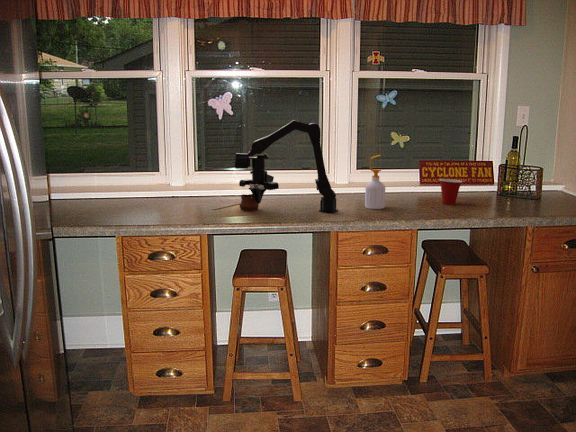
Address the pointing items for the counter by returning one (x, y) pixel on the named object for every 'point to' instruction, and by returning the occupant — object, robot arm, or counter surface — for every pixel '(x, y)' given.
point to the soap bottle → (375, 191)
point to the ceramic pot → (248, 203)
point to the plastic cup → (449, 190)
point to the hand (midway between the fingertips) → (258, 203)
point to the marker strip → (226, 206)
